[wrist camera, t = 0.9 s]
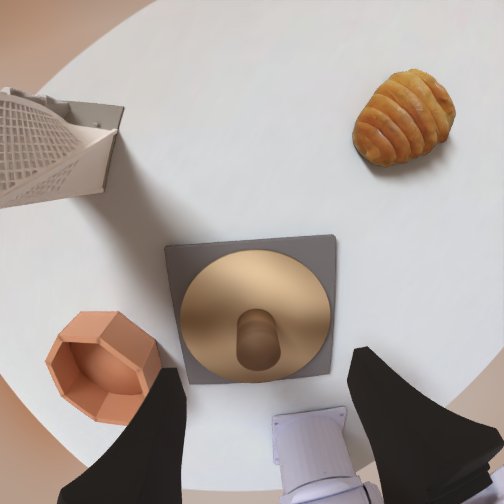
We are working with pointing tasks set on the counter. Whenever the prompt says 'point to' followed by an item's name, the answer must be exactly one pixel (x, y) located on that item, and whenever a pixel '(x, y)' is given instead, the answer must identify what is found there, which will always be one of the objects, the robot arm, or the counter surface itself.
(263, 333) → the lid
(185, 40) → the counter surface
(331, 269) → the mat
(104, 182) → the skyscraper
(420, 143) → the pastry
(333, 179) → the counter surface
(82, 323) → the bowl
